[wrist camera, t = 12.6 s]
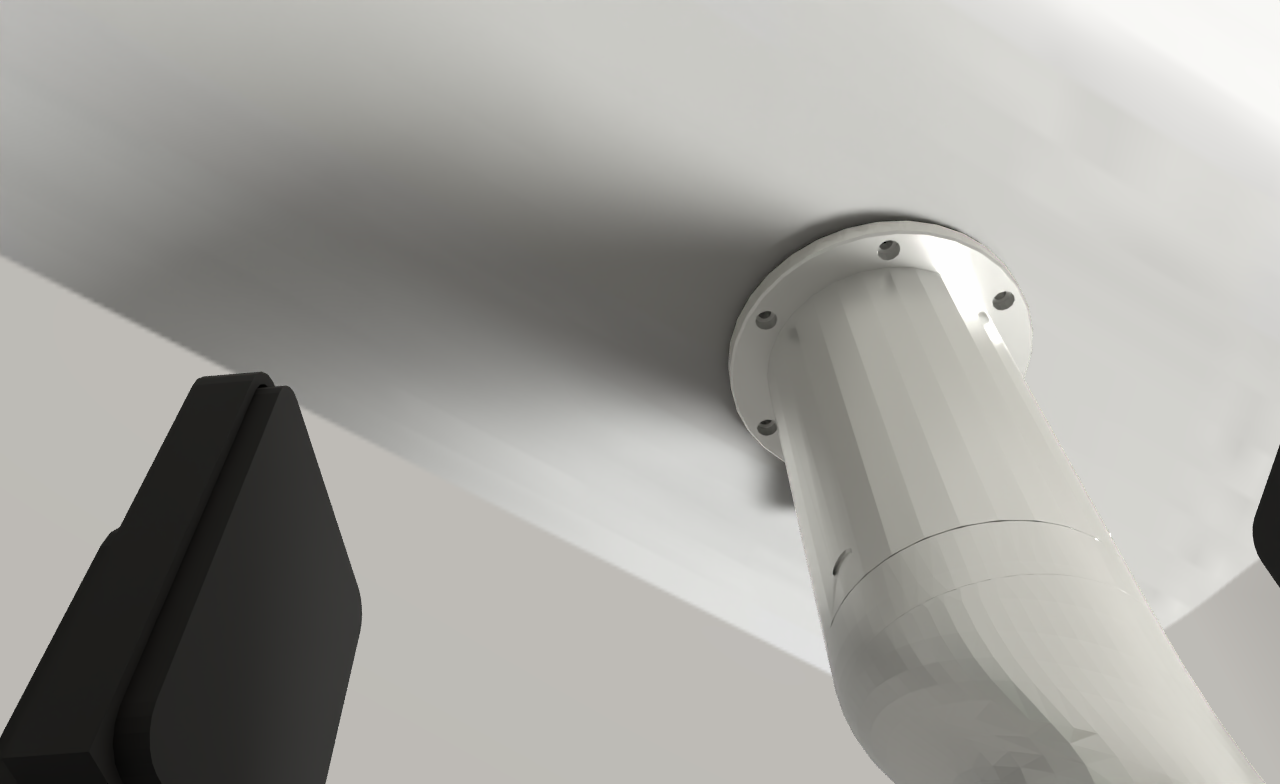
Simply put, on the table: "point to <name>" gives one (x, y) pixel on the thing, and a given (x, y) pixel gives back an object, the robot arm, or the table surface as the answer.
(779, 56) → the table surface
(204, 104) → the table surface
